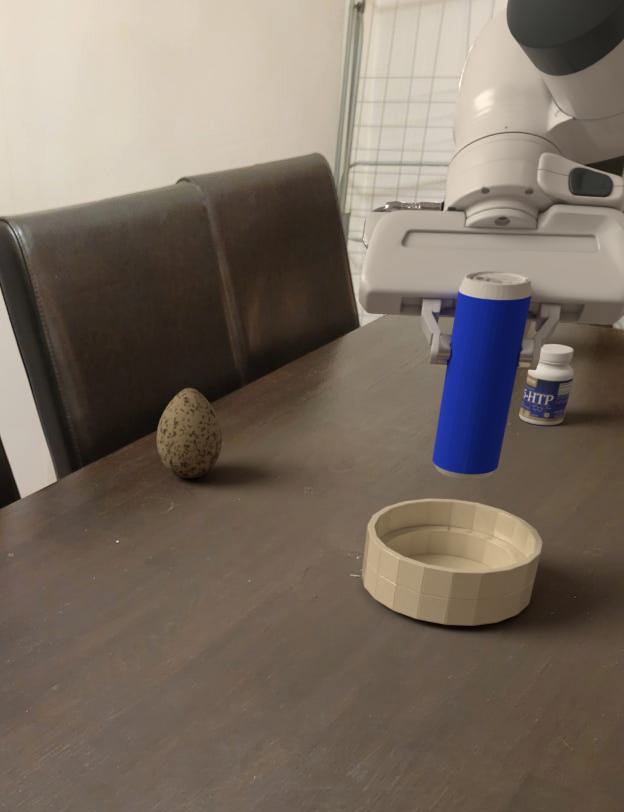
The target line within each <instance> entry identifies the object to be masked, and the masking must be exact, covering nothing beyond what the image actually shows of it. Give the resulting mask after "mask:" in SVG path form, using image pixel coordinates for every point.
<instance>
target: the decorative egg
mask: <svg viewBox="0 0 624 812" xmlns="http://www.w3.org/2000/svg"><path fill="white" fill-rule="evenodd" d="M222 444H223V434H222V427H221V423H220V421H219V418H218V415H217V413H216V411H215V409H214V407H213V406H212V405H211V403H210V401H208V399H207V398H206V397H205V396H204V395H203V393H201V392H200V391H198V390H197V389H195V388H192V387H187V388H184V389H182V390H181V391H179V392H178V393H177V394H176V395H175V396H173V398H172V399H171V400H170V401H169V403H168V404H167V406H166V407H165V408H164V411H163V412H162V415H161V417H160V418H159V422H158V425H157V432H156V449H157V453H158V455H159V458H160V460H161V462H162V464H163V465H164V467H165V468H166V469H167V471H169V472H170V473H172V474H173V475H175V476H177V477H180V478H183V479H196V478H199V477H202V476H203V475H206V474H207V473H208V472H210V471H211V469H212V468H213V467H214V466H215V464H216V463H217V461H218V459H219V457H220V454H221V451H222V446H223V445H222Z"/></svg>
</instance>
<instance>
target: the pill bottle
mask: <svg viewBox="0 0 624 812" xmlns="http://www.w3.org/2000/svg"><path fill="white" fill-rule="evenodd" d="M573 354H574V348H572V347H571V346H569V345H564V344H558V343H545V344H544V345H543V347H542V348H541V353H540V359H539V364H538V366H537V369H536V370H527V374H526V379H525V384H524V388H523V393H522V398H521V403H520V408H519V412H518V414H519V415H518V416H519V418H520V420H522V421H523V422H525V423H528V424H532V425H535V426H536V425H537V426H555V425H559V424H561V423H562V422H563V421H564V419H565V414H566V410H567V406H568V401H569V397H570V393H571V389H572V385H573V380H574V377H575V372H574V369H573V367H572V366H570V365H569V364H570V363H571V362H572V360H573V356H574V355H573Z"/></svg>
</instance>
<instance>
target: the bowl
mask: <svg viewBox="0 0 624 812" xmlns="http://www.w3.org/2000/svg"><path fill="white" fill-rule="evenodd" d="M370 518H371V519H370V520H369V521H368V522H367V526H366V535H365V543H364V552H363V560H362V570H361V579H362V583H363V587H364V588H365V590H366V591H367V592H368V593H369V594H370V595H371V596H372V598H373V599H374V600H376V601H377V602H379V603H380V604H382V605H384V606H385V607H387V608H388V609H390V610H391V611H392V612H393V611H394V612H395V613H398V614H402V615H404V616H407V617H410V618H412V619H414V620H420V621H424V622H429V623H434V624H441V625H445V626H472V627H473V626H480V625H488V624H496V623H500V622H503V621H505V620H507V619H510V618H512V617H515V616H517V615H519V614H520V613H521V612H523V610H524V609H525V608H526V607H528V606H529V605H530V601H531V598H532V592H533V588H534V584H535V579H536V576H537V571H538V567H539V562H540V558H541V553H542V550H543V549H542V548H543V544H544V543H543V539H542V538H541V536H540V534H539V532H538V530H537V529H536V528H535V527H534V526H532V525H531V524H529V523H528V522H527V521H526V520H524V519H523V518H521V517H519V516H517V515H515V514H513V513H511V512H509V511H506V510H504V509H501V508H497V507H495V506H490V505H487V504H483V503H480V502H474V501H468V500H461V499H453V498H421V499H411V500H405V501H400V502H397V503H394V504H390V505H386V506H385V507H383V508H382V509H380V510H379V511H377V512H376V513H375V512H374V514H373V515H372V516H371V517H370Z"/></svg>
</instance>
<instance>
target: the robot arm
mask: <svg viewBox="0 0 624 812" xmlns="http://www.w3.org/2000/svg"><path fill="white" fill-rule="evenodd" d="M452 124H453V125H452V136H453V141H454V147H455V148H454V151H453V153H452V155H451V157H450V159H449V163H448V167H447V171H446V180H445V188H444V195H443V196H444V197H443V201H417V202H404V201H401V200H394V201H388V202H386V203H385V205H384V206H380V207H377V208H375V209H373V210H372V211H371V212H369V213H368V215H367V216H366V218H365V220H364V224H363V229H362V243H363V245H364V247H365V248H366V251H365V252H366V253H365V255H364V259H363V264H362V267H361V272H360V278H359V284H358V285H359V287H358V302H359V304H360V305H361V307H362V308H363V310H364V311H365V312H366V313H367V314H370V315H388V316H389V315H391V316H408V317H409V316H412V317H419V326H418V327H419V329H420V330H421V332H422V334H423V336H424V338H425V339H426V341H427V343H428V345H429V346H430V352H429V353H430V354H429V361H428V364H429V365H441V366H443V365H444V366H447V365H448V361H449V360H450V355H451V339H452V334H446V333H443V332H442V330H441V328H440V326H439V320H440V318H452V319H454V317H455V311H456V304H457V298H458V291H459V288H460V286H461V284H462V282H463V280H464V278H465V276H466V275H468V274H471V273H475V272H486V271H496V272H509V273H515V274H520V275H523V276H526V277H528V278H529V279H530V283H531V291H532V295H531V300H530V305H529V310H528V316H527V321H532V322H535V327H534V332H535V333H536V334H535V335H534V336H533V338H527V337H526V338H523V341H522V346H521V351H520V354H519V360H518V367H517V370H525V371H528V370H536V369H537V366H538V364H539V359H540V353H541V348H542V347H543V345H545V344H547V342H548V341H549V340H550V338H551V337H552V336H553V334H554V333H555V331H556V328H557V326H558V323H559V324H578V325H579V324H580V325H598V326H602V325H603V326H613V325H615V324H617V322H619V321H620V320H621V319H622V318H623V317H624V212H623V211H624V177H622V176H620V175H617V174H614V173H610V172H606V171H603V170H599V169H596V168H593V167H590V166H591V165H592V166H593V165H596V164H602V163H606V162H611V161H615V160H619V159H623V158H624V0H507V4H506V8H504V9H502V10H500V11H499V12H498V13H496V14H495V15H494V16H493V17H491V19H489V20H488V21H487V22H486V23H485V25H484V26H483V27H482V28H481V30H480V32H479V33H478V35H477V36H476V37H475V40H474V42H473V43H472V45H471V48H470V49H469V51H468V54H467V57H466V59H465V62H464V65H463V68H462V73H461V76H460V81H459V85H458V90H457V95H456V102H455V108H454V115H453V123H452Z"/></svg>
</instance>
